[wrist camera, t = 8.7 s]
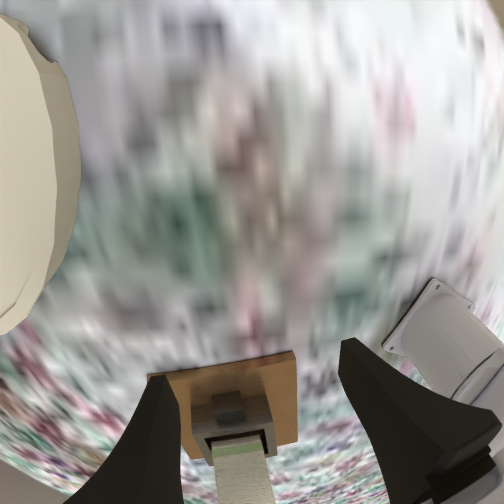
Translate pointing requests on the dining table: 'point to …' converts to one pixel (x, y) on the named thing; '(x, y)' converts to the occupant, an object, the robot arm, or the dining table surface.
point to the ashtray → (33, 171)
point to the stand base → (237, 403)
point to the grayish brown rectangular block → (241, 471)
